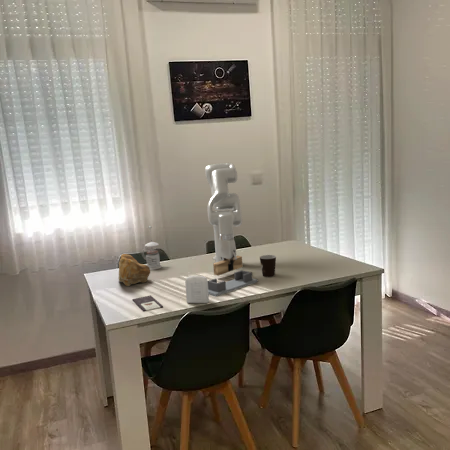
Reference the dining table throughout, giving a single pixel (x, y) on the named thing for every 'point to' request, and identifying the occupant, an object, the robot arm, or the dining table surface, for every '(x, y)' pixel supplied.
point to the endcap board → (230, 283)
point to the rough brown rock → (132, 270)
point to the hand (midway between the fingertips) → (228, 269)
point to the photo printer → (197, 289)
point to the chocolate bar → (147, 303)
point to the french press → (156, 257)
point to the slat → (226, 266)
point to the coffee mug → (268, 265)
